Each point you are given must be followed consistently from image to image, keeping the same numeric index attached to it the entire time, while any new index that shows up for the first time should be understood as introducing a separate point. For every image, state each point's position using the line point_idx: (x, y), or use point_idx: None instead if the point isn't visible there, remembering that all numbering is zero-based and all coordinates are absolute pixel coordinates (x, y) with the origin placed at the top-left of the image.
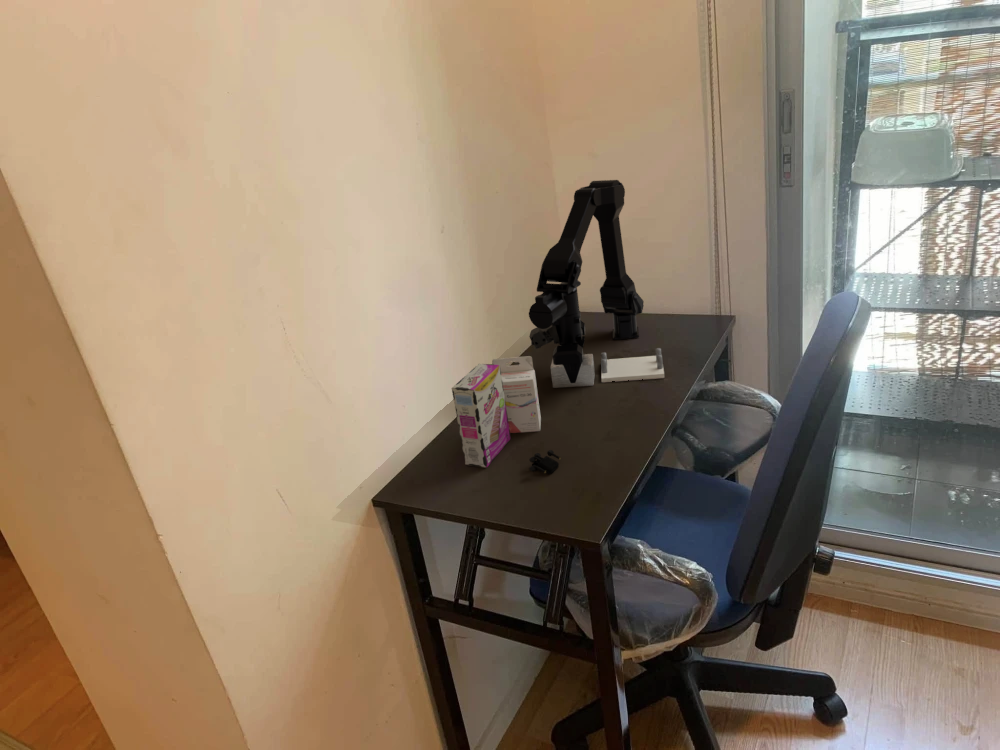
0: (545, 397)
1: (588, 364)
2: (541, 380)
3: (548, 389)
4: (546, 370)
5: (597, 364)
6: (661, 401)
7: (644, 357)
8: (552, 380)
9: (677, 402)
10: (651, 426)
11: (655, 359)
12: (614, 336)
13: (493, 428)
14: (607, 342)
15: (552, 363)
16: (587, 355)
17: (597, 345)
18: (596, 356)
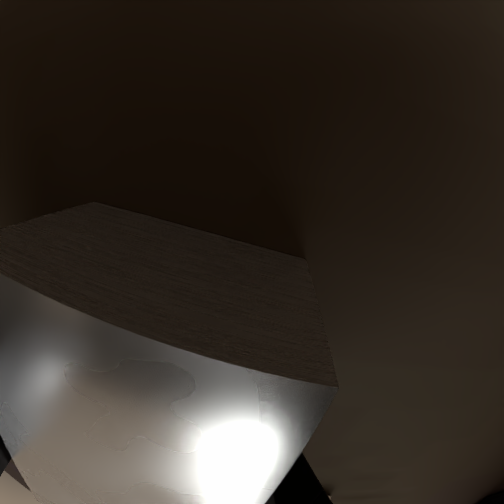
0: (7, 141)
1: (40, 497)
2: (271, 119)
3: (84, 163)
4: (450, 207)
5: (338, 484)
6: (14, 468)
7: None
8: (56, 214)
9: (17, 480)
10: None
11: None
12: (492, 501)
13: None
14: (489, 486)
15: (36, 305)
16: None
17: (500, 465)
18: (423, 478)
